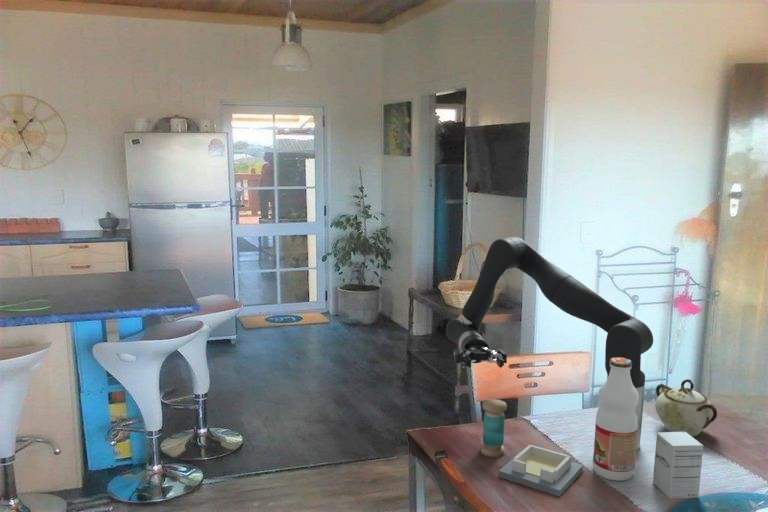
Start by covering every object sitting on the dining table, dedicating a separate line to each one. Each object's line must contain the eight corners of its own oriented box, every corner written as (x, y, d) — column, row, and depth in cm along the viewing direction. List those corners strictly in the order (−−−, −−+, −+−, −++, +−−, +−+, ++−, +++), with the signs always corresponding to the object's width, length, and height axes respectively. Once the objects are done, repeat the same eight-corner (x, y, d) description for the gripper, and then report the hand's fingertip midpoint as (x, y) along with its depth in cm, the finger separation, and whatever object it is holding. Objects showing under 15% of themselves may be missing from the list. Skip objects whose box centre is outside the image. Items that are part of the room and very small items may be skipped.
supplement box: (651, 482, 151) (655, 431, 149) (681, 482, 152) (686, 430, 150) (667, 499, 144) (672, 445, 142) (699, 498, 144) (704, 444, 142)
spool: (487, 444, 170) (489, 397, 168) (508, 451, 166) (510, 402, 164) (476, 453, 165) (478, 404, 163) (498, 459, 162) (500, 410, 160)
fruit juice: (627, 486, 149) (636, 369, 145) (587, 474, 155) (594, 361, 151) (638, 470, 157) (647, 359, 153) (599, 459, 162) (606, 351, 158)
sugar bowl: (732, 440, 175) (737, 386, 173) (693, 449, 169) (698, 394, 167) (672, 413, 193) (676, 365, 191) (635, 421, 186) (639, 371, 184)
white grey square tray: (524, 454, 165) (525, 439, 164) (582, 471, 156) (583, 455, 156) (498, 476, 153) (498, 460, 152) (559, 496, 144) (560, 479, 144)
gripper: (449, 334, 189) (460, 350, 173) (497, 334, 190) (512, 350, 174) (448, 358, 190) (458, 377, 174) (496, 358, 191) (511, 377, 175)
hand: (485, 364), depth 174 cm, fingers open, 8 cm apart
